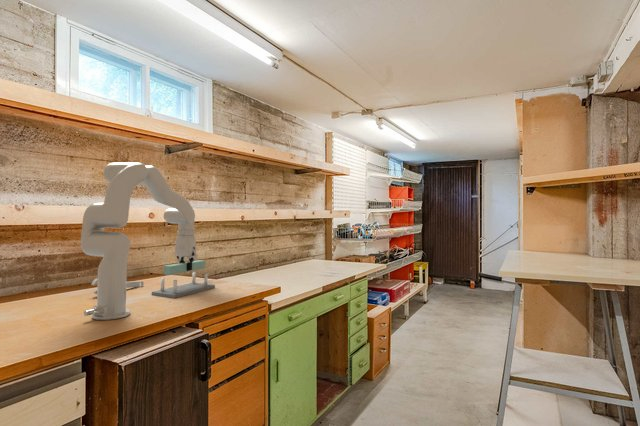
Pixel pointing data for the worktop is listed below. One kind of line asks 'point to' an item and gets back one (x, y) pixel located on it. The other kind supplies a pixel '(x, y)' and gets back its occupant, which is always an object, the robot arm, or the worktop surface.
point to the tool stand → (183, 288)
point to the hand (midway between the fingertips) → (185, 269)
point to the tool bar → (183, 267)
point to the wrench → (128, 284)
